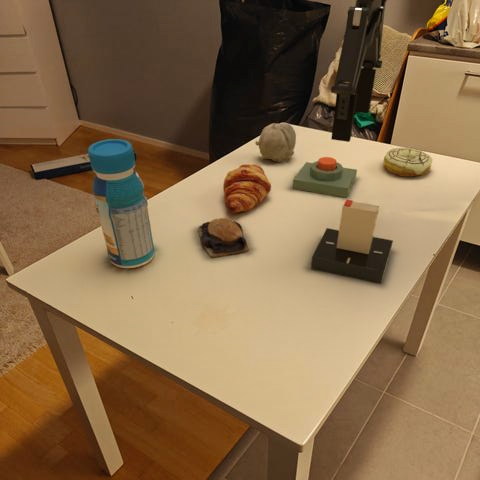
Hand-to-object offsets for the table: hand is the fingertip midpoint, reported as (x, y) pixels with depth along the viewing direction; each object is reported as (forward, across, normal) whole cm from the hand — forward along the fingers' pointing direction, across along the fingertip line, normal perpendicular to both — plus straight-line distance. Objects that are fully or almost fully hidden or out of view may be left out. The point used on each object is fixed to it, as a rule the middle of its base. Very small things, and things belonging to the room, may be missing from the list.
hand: (351, 125), depth 73 cm
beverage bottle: (+21, +20, -32) cm, 43 cm away
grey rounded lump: (+21, -30, -23) cm, 43 cm away
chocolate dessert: (+21, +9, -19) cm, 30 cm away
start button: (+17, -21, -8) cm, 29 cm away
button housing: (+21, -22, -8) cm, 31 cm away
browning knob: (+18, +6, +5) cm, 20 cm away
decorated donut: (+21, -36, +8) cm, 42 cm away
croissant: (+21, -9, -22) cm, 32 cm away
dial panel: (+21, +6, +5) cm, 22 cm away
